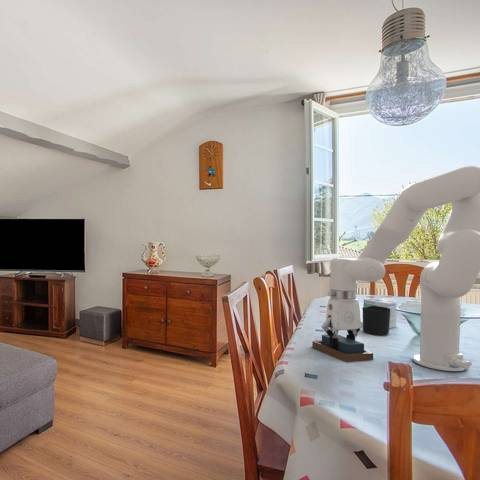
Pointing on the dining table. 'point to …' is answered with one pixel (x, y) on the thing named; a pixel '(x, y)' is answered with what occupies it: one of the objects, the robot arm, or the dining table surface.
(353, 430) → the dining table surface
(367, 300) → the light bulb box
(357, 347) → the back pad
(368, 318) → the pen holder
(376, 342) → the dining table surface
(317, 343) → the frame
